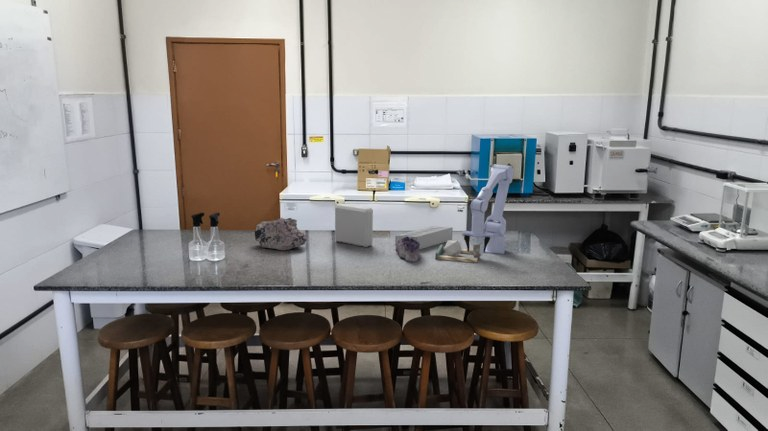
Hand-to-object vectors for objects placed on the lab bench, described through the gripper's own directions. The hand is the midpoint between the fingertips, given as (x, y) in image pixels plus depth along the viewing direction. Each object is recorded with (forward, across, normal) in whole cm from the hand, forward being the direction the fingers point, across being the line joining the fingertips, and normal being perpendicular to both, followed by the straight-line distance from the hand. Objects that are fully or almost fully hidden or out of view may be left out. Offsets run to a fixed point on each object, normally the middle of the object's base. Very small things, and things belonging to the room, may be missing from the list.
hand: (476, 251), depth 272 cm
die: (+4, -12, 0) cm, 12 cm away
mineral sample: (+4, -98, -9) cm, 99 cm away
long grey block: (+4, -29, +21) cm, 36 cm away
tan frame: (+3, -9, 0) cm, 9 cm away
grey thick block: (+4, -64, +8) cm, 65 cm away
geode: (+4, -32, -7) cm, 33 cm away
